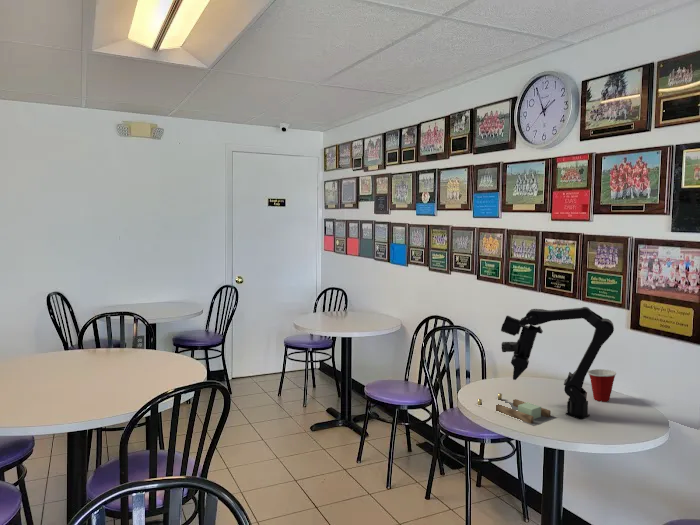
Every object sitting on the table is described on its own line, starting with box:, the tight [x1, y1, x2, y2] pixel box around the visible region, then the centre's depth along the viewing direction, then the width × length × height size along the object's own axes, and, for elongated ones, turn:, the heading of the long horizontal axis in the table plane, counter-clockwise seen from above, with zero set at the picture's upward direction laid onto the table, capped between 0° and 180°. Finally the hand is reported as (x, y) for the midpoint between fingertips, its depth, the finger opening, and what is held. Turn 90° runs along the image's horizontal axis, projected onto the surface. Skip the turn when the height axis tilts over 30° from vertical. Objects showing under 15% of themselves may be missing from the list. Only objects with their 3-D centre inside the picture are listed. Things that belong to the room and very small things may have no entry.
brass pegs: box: [477, 392, 503, 405], centre depth 218 cm, size 2×14×2 cm, turn 125°
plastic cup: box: [587, 368, 617, 403], centre depth 221 cm, size 11×11×12 cm
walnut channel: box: [496, 399, 552, 424], centre depth 205 cm, size 16×12×2 cm
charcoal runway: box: [503, 399, 557, 427], centre depth 208 cm, size 28×14×1 cm, turn 35°
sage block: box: [518, 401, 542, 419], centre depth 202 cm, size 6×6×4 cm
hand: (515, 376), depth 212 cm, fingers open, 9 cm apart
